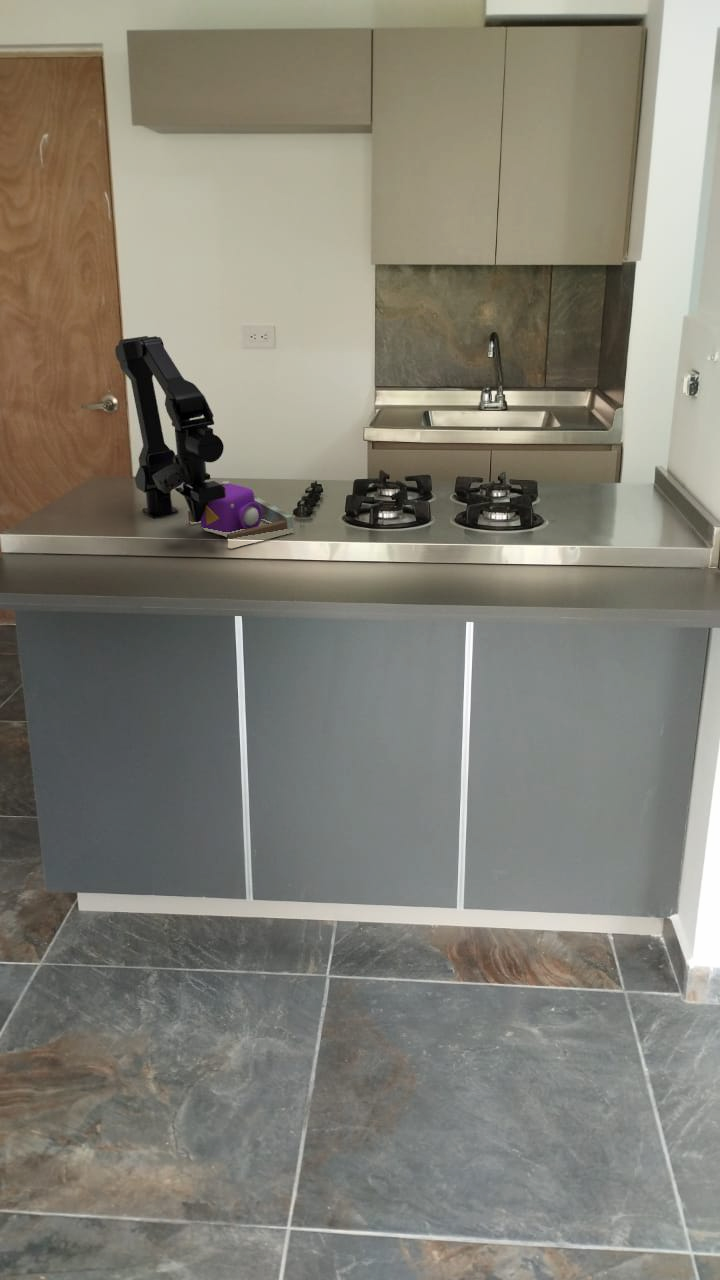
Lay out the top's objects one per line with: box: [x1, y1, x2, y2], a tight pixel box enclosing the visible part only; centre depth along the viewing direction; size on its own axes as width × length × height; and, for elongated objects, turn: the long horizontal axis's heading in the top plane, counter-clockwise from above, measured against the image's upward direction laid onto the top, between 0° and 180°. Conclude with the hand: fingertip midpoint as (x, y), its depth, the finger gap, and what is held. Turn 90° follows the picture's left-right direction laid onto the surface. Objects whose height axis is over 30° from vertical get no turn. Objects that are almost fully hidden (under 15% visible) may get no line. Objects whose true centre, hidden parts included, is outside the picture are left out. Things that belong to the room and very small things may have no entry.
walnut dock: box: [187, 495, 294, 539], centre depth 239 cm, size 20×16×4 cm
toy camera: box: [200, 480, 262, 532], centre depth 236 cm, size 11×14×10 cm
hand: (197, 521), depth 233 cm, fingers closed
